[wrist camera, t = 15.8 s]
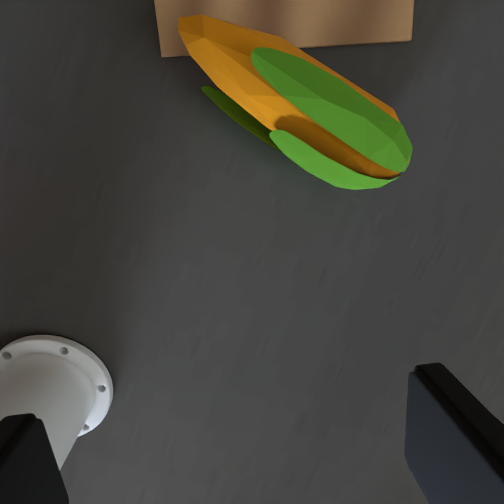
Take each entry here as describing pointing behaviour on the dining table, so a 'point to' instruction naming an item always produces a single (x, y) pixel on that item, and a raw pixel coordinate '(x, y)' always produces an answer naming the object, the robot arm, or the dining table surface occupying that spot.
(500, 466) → the robot arm
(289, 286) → the dining table surface
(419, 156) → the dining table surface
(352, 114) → the corn
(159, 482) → the dining table surface
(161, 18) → the placemat
